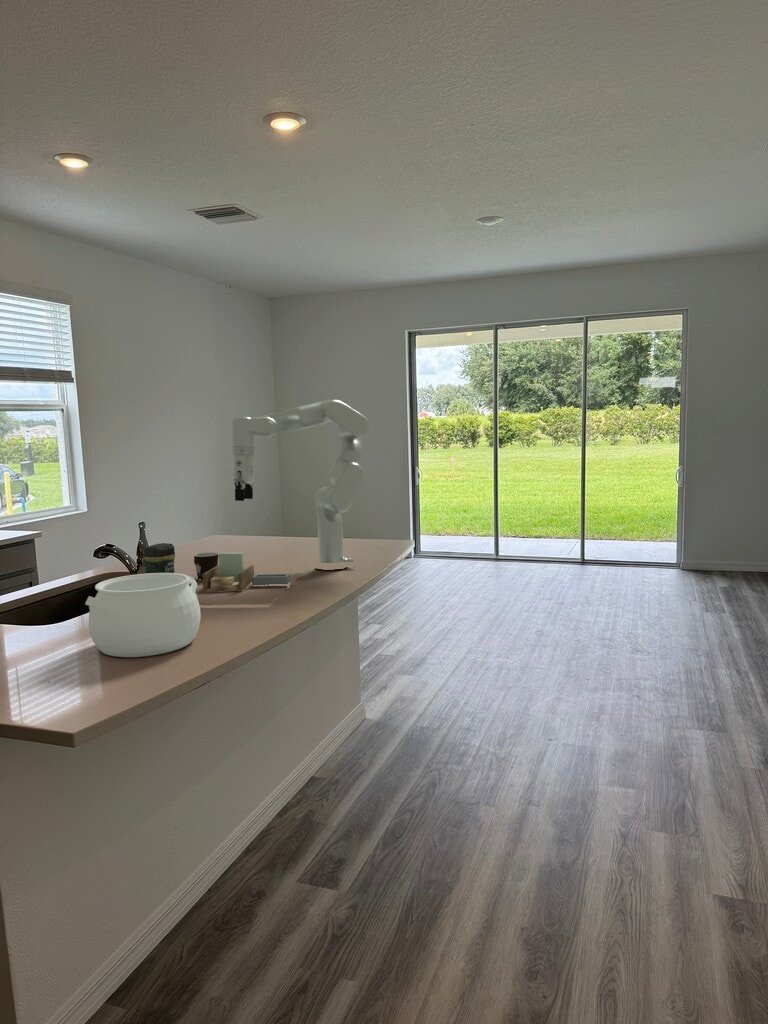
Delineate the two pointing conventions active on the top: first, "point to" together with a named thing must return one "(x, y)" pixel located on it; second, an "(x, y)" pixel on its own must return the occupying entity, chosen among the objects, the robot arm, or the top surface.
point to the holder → (270, 579)
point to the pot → (144, 614)
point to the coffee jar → (159, 558)
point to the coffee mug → (205, 562)
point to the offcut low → (234, 585)
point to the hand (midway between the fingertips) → (244, 499)
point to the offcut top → (223, 580)
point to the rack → (244, 581)
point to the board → (231, 564)
